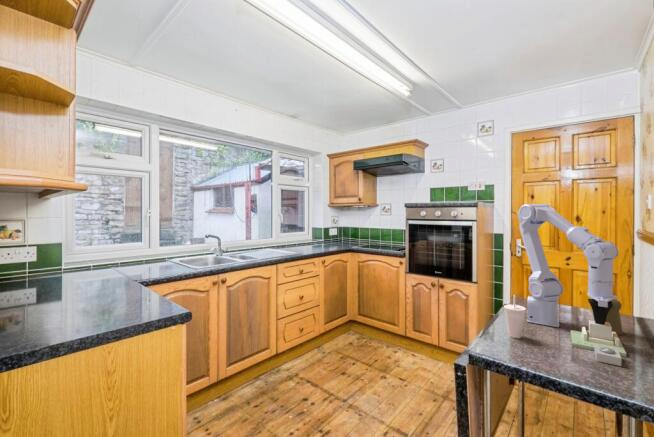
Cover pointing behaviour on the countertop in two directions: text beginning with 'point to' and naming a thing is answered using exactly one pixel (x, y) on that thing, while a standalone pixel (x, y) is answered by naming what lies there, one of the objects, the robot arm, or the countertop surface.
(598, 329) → the white block
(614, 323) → the dark olive bottle
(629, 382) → the countertop surface
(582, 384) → the countertop surface
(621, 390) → the countertop surface
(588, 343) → the board
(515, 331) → the smoothie
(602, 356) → the fan housing
